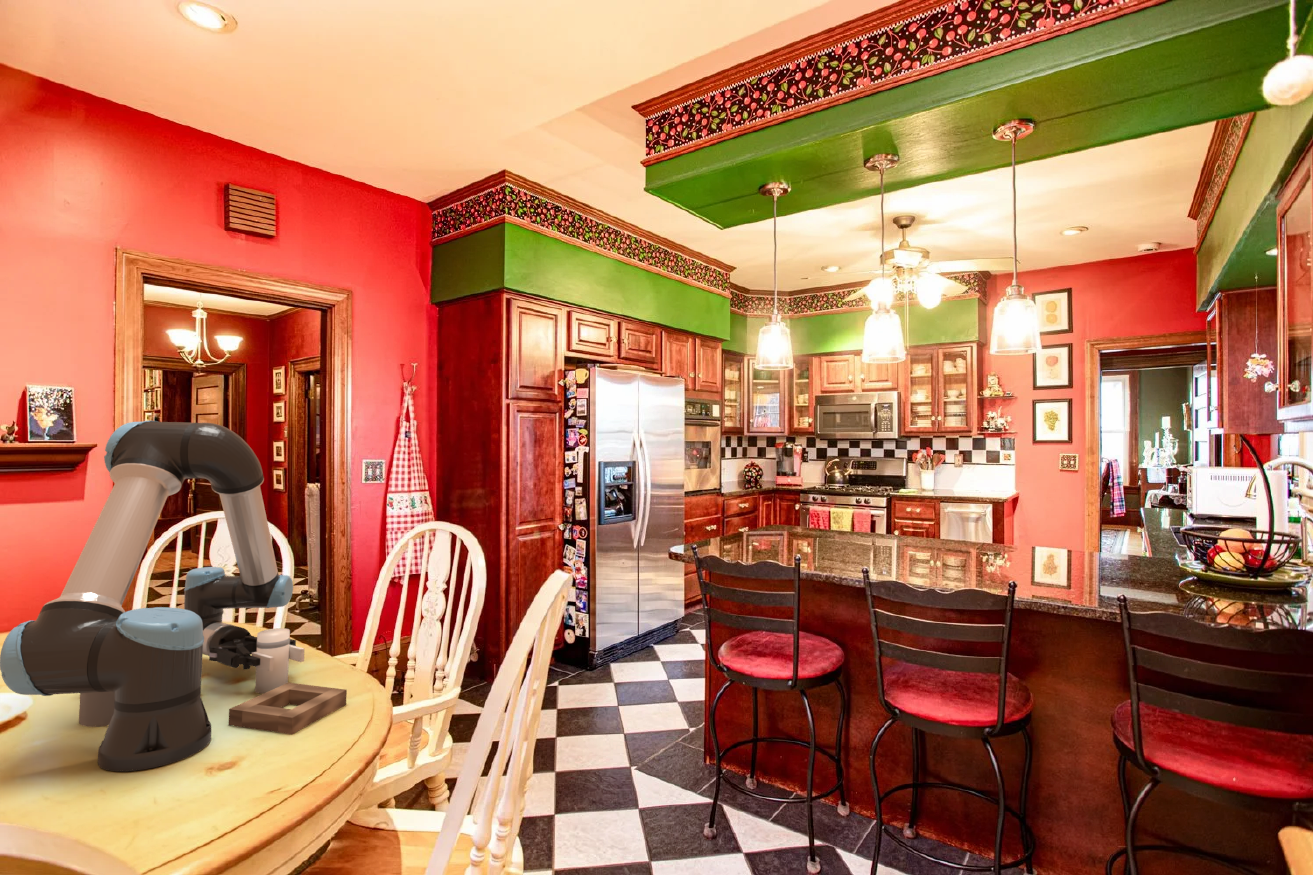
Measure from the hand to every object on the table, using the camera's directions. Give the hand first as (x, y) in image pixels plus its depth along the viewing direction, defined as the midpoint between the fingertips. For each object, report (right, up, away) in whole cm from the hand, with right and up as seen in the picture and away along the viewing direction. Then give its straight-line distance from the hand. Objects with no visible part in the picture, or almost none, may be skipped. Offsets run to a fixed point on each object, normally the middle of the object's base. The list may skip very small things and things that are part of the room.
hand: (287, 659), depth 133 cm
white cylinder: (-5, -7, +2) cm, 9 cm away
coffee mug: (-24, -6, -12) cm, 28 cm away
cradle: (+7, -7, -11) cm, 14 cm away
